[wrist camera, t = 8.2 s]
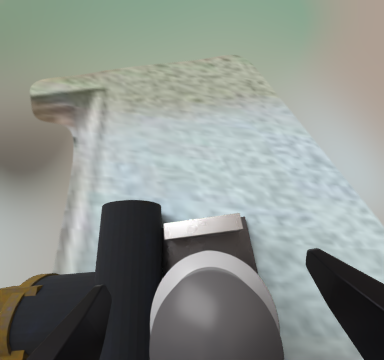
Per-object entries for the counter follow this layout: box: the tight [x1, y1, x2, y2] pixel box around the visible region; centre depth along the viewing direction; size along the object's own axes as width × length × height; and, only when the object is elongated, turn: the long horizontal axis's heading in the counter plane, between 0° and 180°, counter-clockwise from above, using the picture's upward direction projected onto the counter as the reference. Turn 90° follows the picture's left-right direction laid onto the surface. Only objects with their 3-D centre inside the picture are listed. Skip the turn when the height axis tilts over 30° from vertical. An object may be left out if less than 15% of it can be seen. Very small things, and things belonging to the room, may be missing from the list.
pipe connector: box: [0, 200, 162, 360], centre depth 14 cm, size 12×5×15 cm
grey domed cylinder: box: [149, 250, 284, 360], centre depth 10 cm, size 5×5×11 cm
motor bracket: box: [161, 213, 258, 278], centre depth 12 cm, size 15×8×5 cm, turn 7°
